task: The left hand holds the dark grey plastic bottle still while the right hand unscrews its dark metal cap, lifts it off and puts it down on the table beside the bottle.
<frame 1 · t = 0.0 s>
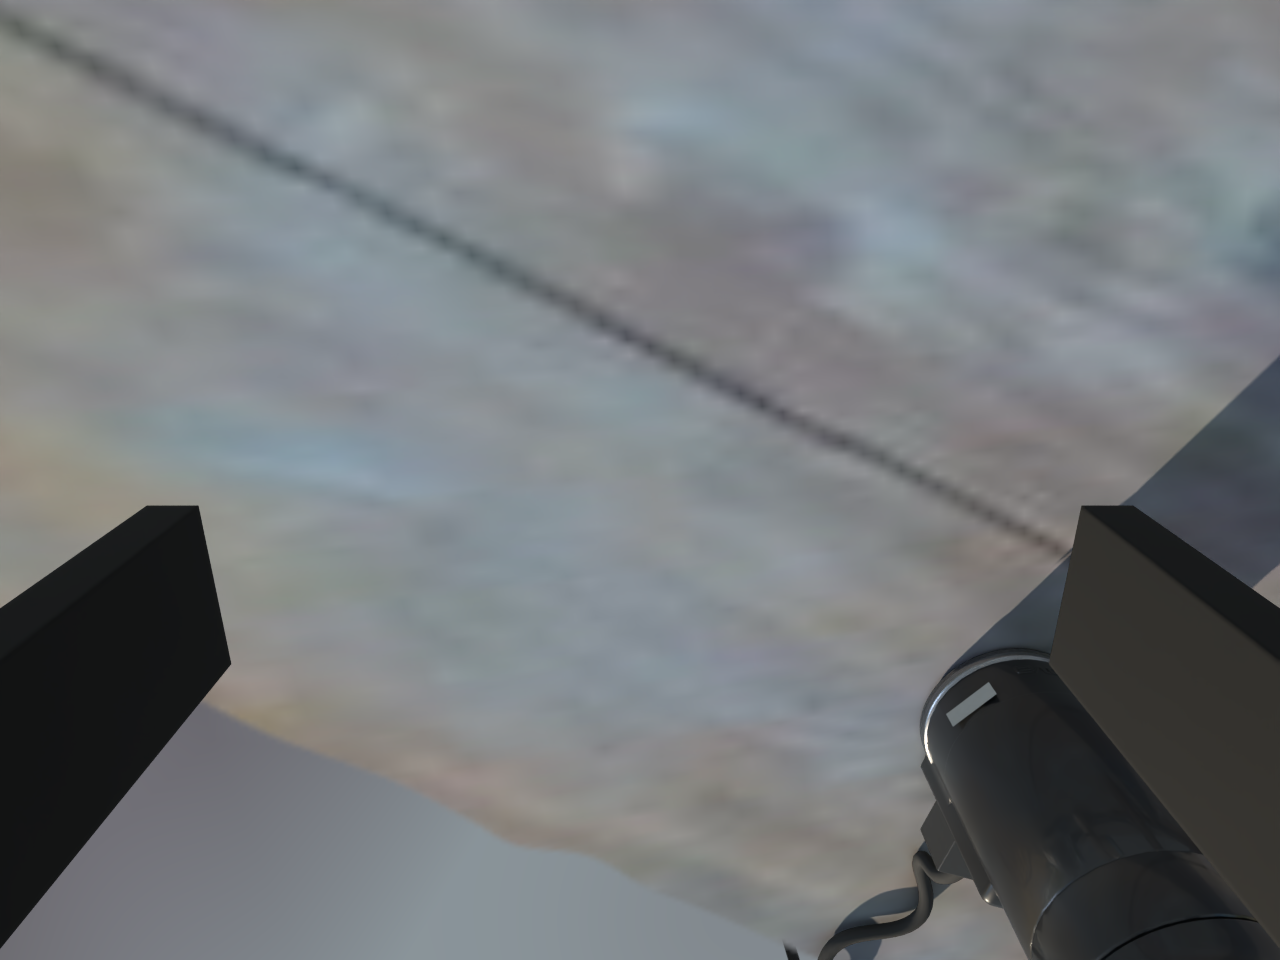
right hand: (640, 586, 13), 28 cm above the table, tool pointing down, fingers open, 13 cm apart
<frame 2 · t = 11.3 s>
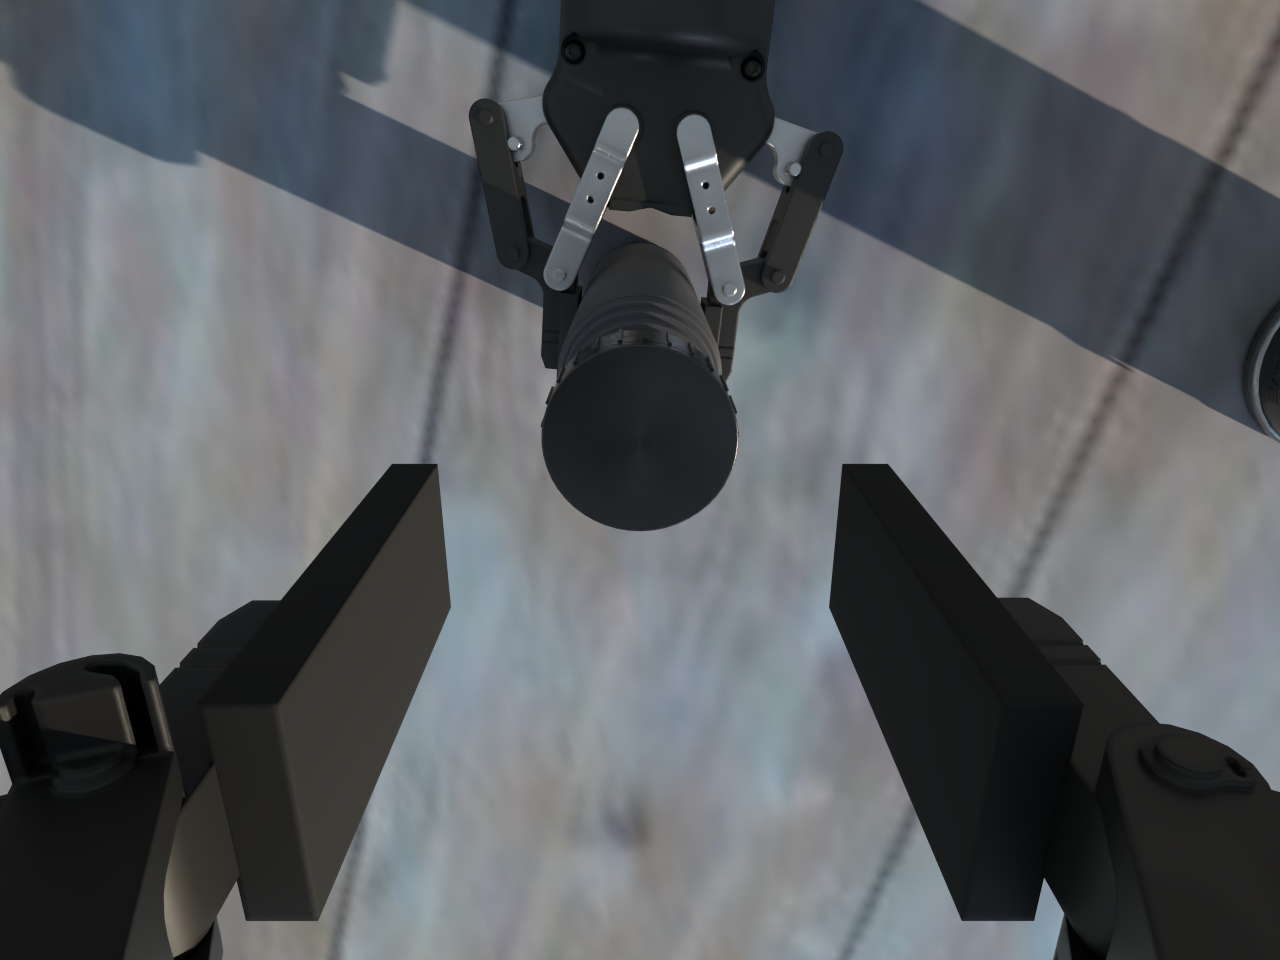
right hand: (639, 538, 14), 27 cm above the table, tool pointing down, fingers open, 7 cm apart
left hand: (635, 384, 34), fingers closed on bottle, 5 cm apart
cap: (639, 437, 19), point 22 cm above the table, screwed on, not yet turned
bottle: (640, 296, 40), on the table, touching left hand
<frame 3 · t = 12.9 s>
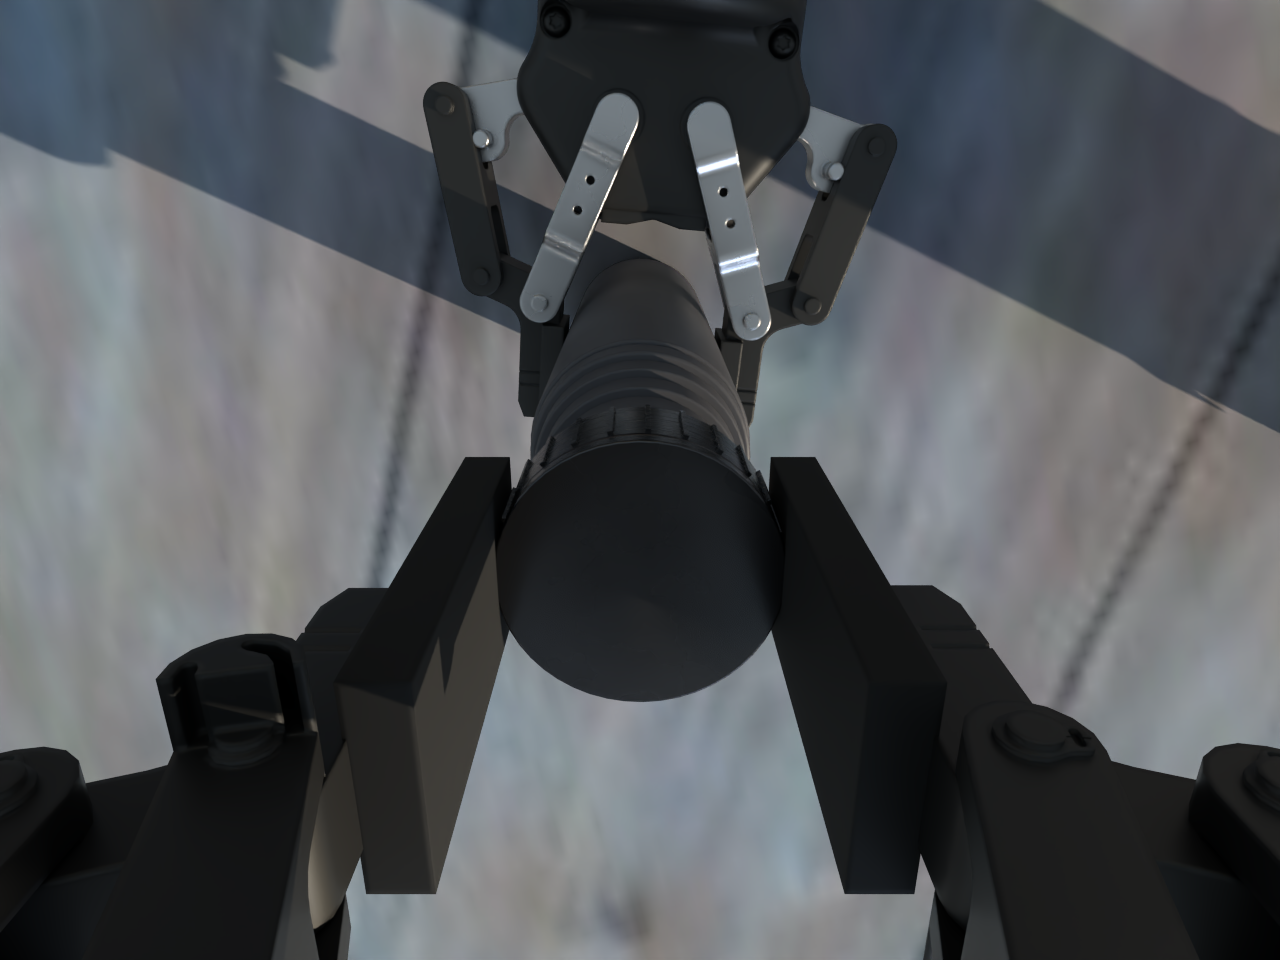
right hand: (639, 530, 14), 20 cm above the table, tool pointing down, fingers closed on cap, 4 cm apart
left hand: (634, 434, 28), fingers closed on bottle, 5 cm apart
cap: (640, 571, 13), point 22 cm above the table, screwed on, not yet turned, touching right hand
bottle: (640, 321, 33), on the table, touching left hand
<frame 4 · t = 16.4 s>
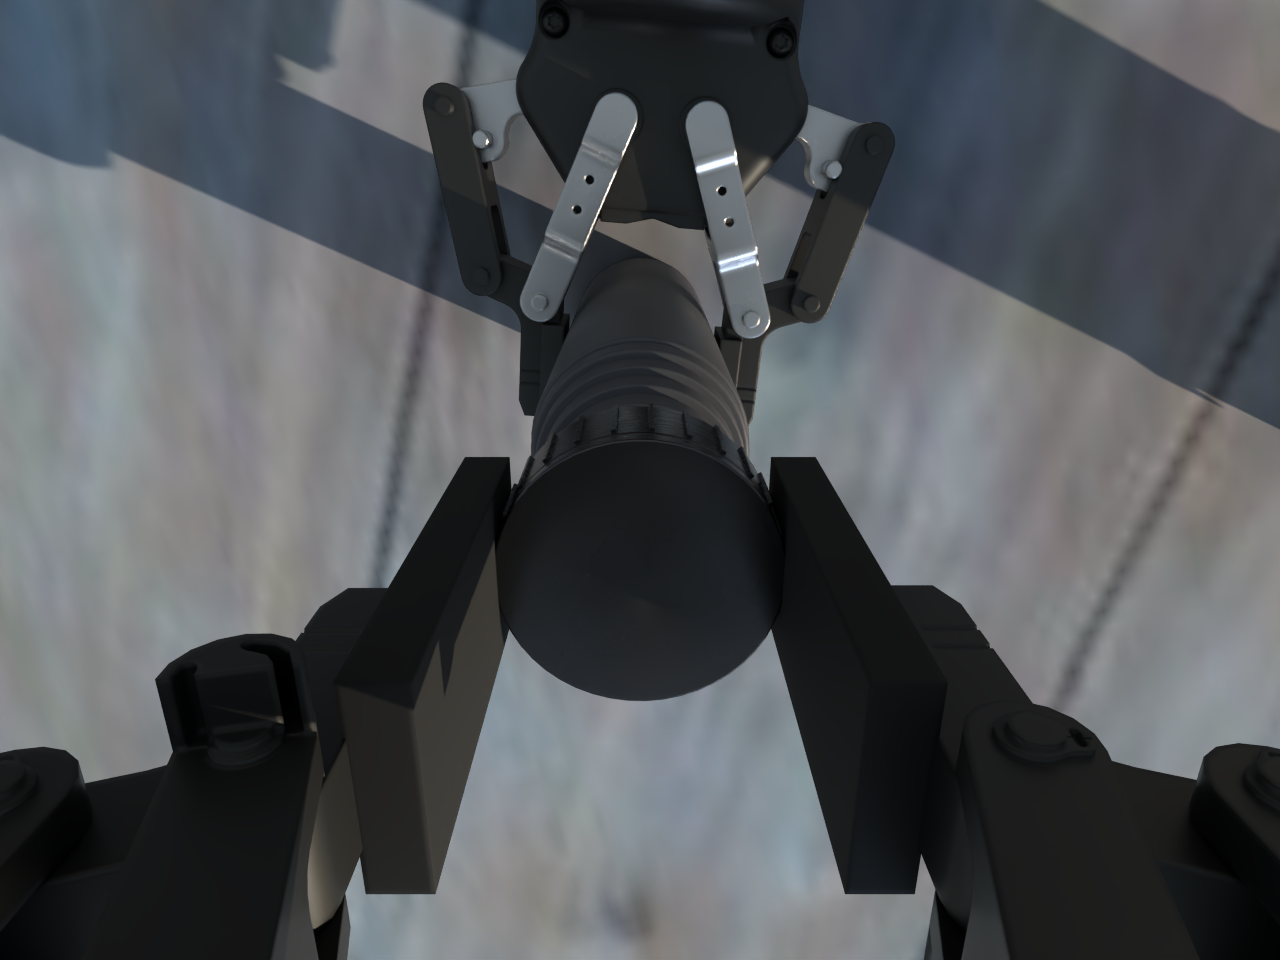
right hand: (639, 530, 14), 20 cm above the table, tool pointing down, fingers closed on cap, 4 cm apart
left hand: (634, 432, 28), fingers closed on bottle, 5 cm apart
cap: (640, 570, 13), point 22 cm above the table, turned 113° so far, risen 0.1 cm, still on its thread, touching right hand
bottle: (640, 320, 33), on the table, touching left hand
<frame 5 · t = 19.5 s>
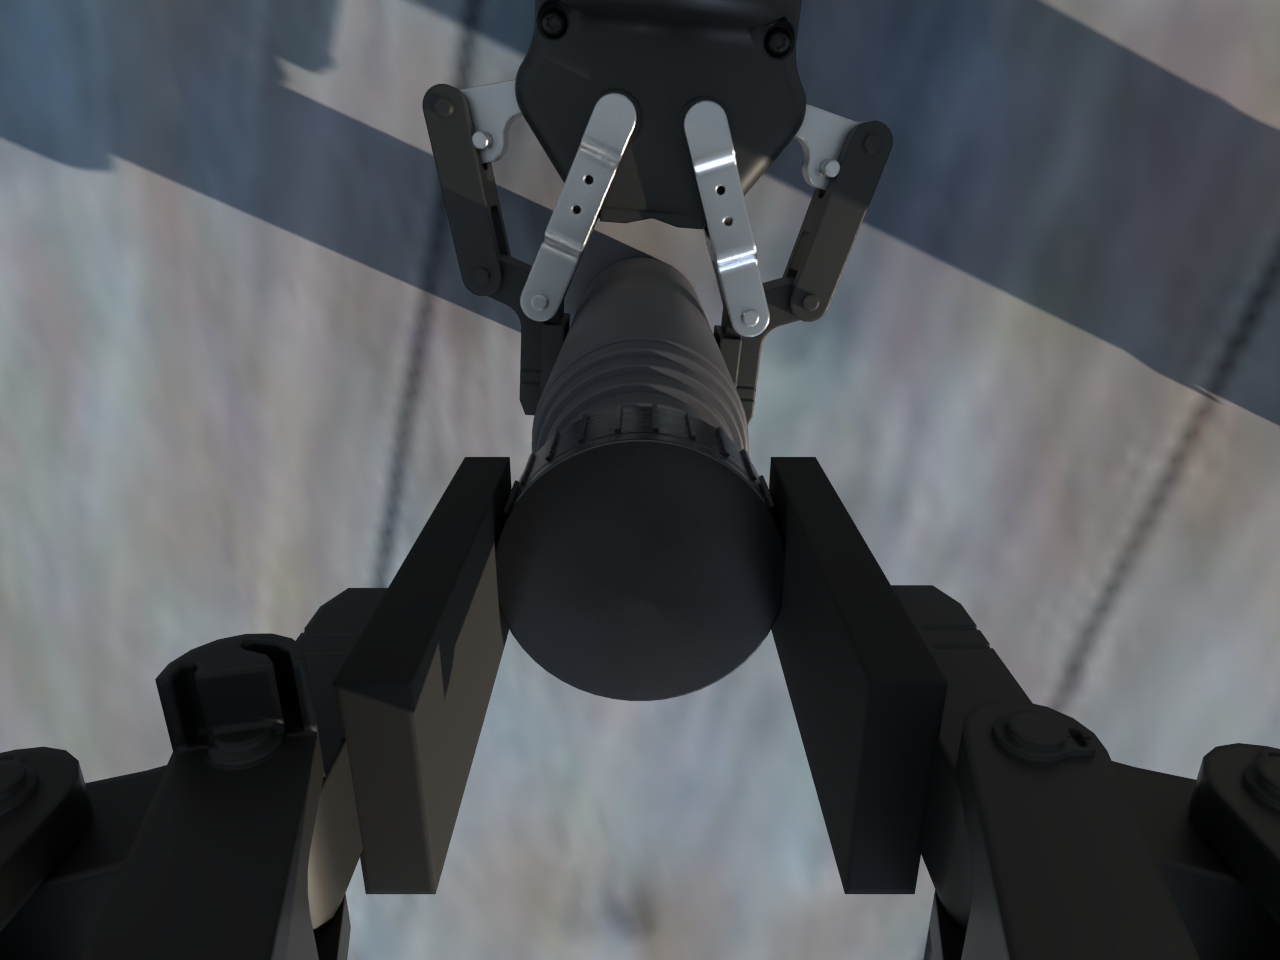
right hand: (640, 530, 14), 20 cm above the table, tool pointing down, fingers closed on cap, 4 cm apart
left hand: (635, 431, 28), fingers closed on bottle, 5 cm apart
cap: (640, 570, 13), point 22 cm above the table, turned 227° so far, risen 0.2 cm, still on its thread, touching right hand
bottle: (640, 320, 34), on the table, touching left hand
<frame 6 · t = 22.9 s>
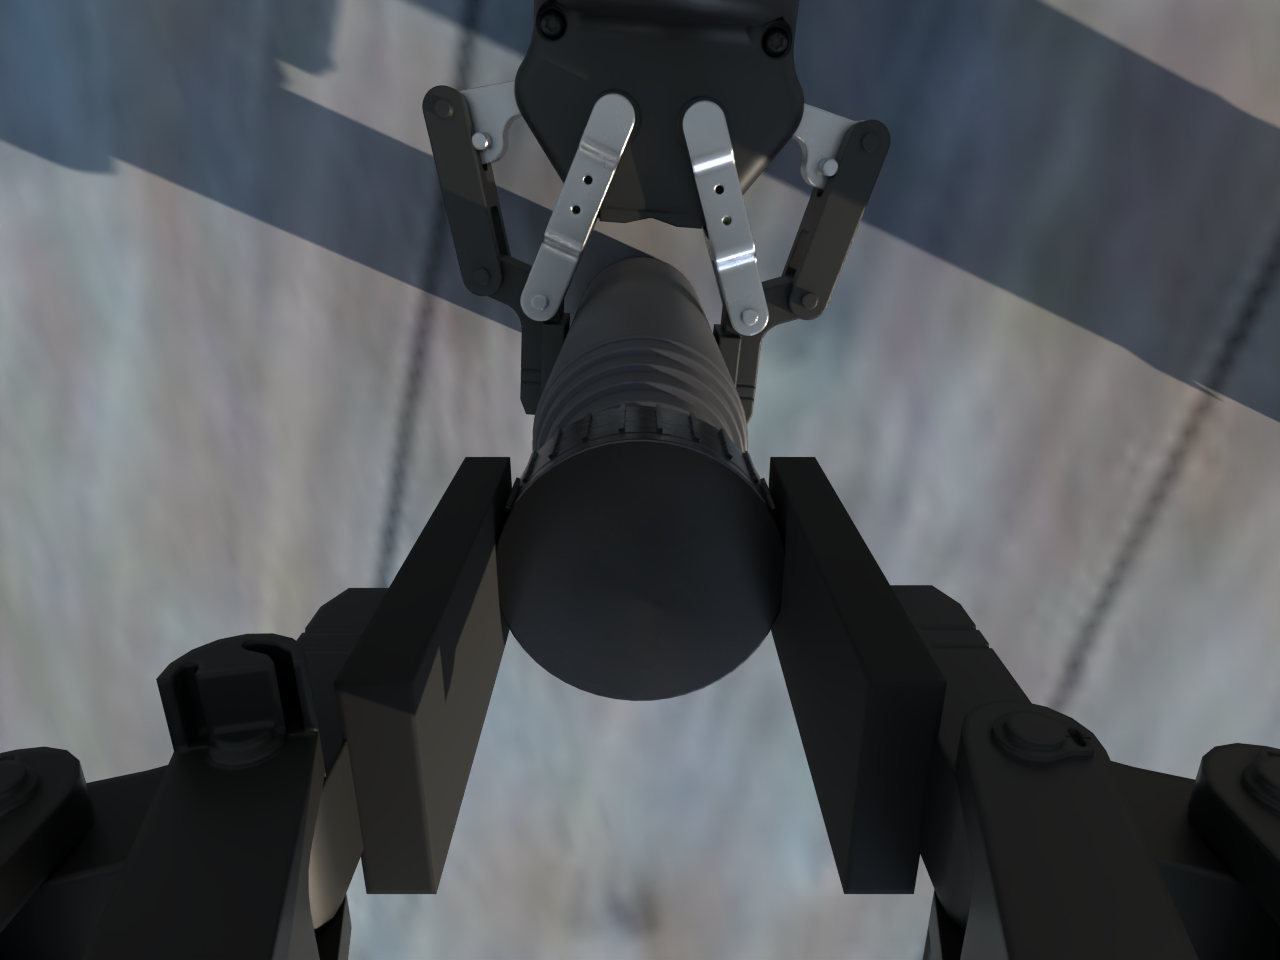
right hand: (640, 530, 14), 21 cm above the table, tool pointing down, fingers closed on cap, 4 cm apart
left hand: (635, 430, 28), fingers closed on bottle, 5 cm apart
cap: (640, 569, 13), point 22 cm above the table, turned 340° so far, risen 0.4 cm, still on its thread, touching right hand
bottle: (640, 319, 34), on the table, touching left hand
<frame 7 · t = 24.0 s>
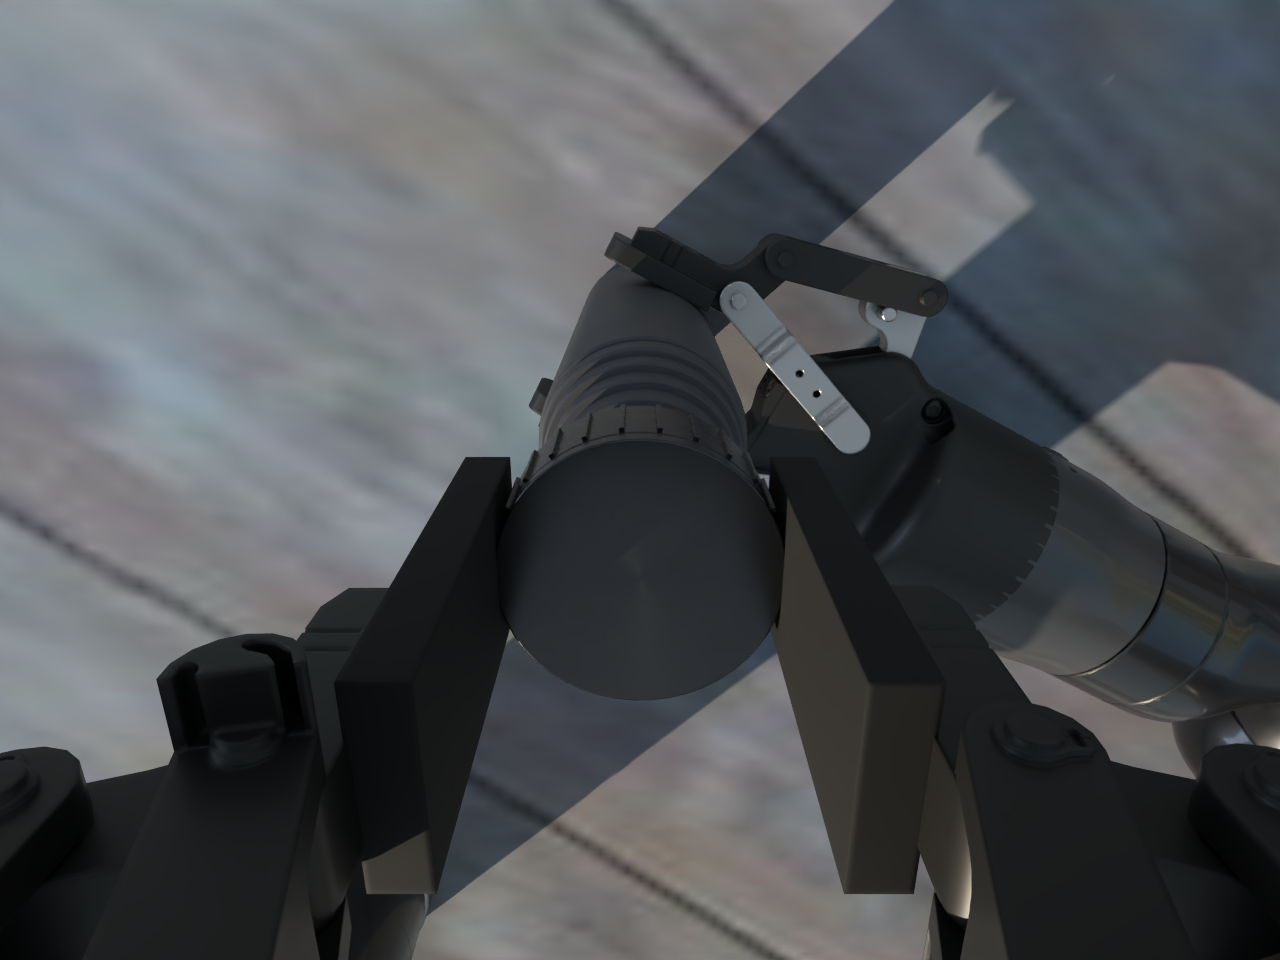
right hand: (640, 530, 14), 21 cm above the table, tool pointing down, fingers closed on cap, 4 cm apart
left hand: (573, 321, 28), fingers closed on bottle, 5 cm apart
cap: (640, 569, 13), point 23 cm above the table, off its thread, touching right hand
bottle: (642, 322, 34), on the table, touching left hand
when the right hand's fingers open (1 cm above the table, at t = 31.4 s): cap drops 1 cm, point 2 cm above the table.
when the left hand's fingers open (7 cm above the table, at t = 32.6 s): bottle stays where it is, on the table.
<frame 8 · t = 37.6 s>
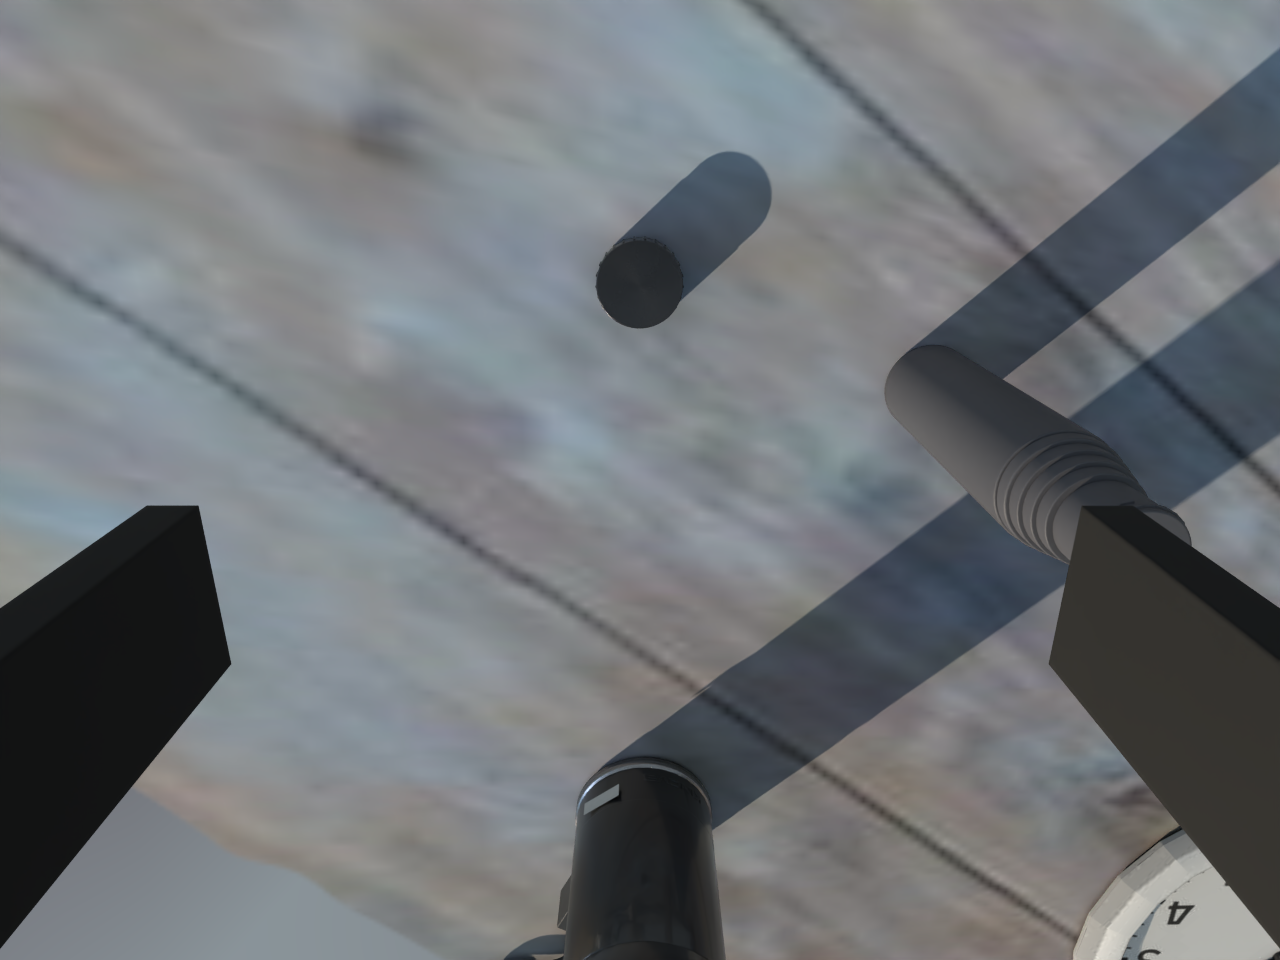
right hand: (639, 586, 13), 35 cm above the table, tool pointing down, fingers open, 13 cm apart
cap: (639, 284, 44), point 2 cm above the table, off its thread
bottle: (927, 387, 47), on the table
wall clock: (1270, 945, 63), on the table
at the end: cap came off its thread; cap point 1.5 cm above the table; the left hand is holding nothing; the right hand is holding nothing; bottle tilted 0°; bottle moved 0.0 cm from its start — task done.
